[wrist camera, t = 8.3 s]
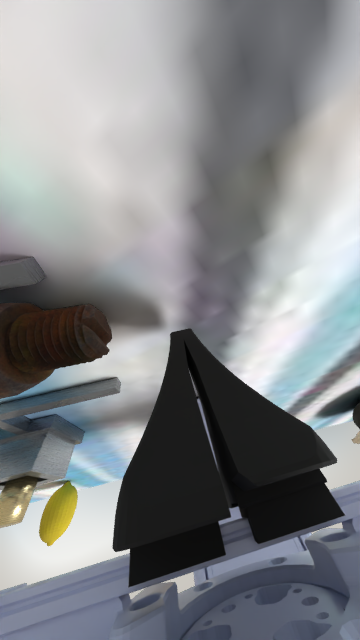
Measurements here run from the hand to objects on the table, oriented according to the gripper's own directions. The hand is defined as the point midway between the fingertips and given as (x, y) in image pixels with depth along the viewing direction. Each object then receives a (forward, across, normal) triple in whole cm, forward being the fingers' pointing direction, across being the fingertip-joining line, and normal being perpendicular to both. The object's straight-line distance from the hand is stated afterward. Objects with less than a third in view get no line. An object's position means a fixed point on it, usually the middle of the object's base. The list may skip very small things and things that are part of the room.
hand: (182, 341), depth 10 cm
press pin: (-2, +18, +12) cm, 21 cm away
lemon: (+2, +30, +38) cm, 48 cm away
